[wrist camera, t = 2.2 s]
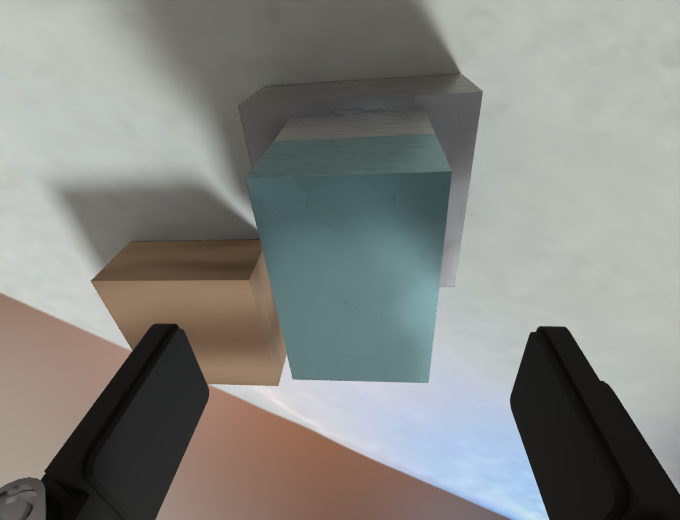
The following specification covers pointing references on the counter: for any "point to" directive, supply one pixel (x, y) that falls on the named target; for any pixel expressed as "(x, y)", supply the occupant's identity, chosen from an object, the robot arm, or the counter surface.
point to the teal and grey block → (354, 242)
